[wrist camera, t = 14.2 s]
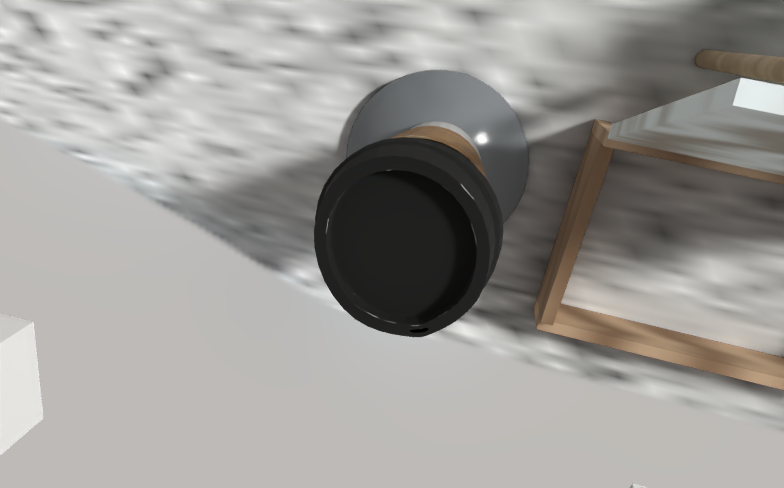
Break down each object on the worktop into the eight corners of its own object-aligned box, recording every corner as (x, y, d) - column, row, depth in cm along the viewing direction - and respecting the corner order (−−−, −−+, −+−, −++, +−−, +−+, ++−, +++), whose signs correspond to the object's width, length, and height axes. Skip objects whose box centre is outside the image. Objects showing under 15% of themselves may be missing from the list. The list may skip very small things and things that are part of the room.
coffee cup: (391, 236, 38) (332, 354, 24) (358, 117, 35) (271, 175, 22) (512, 213, 36) (521, 329, 22) (486, 85, 33) (480, 126, 19)
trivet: (317, 182, 38) (314, 185, 37) (411, 30, 33) (410, 30, 33) (456, 278, 39) (455, 281, 38) (567, 142, 34) (568, 144, 33)
